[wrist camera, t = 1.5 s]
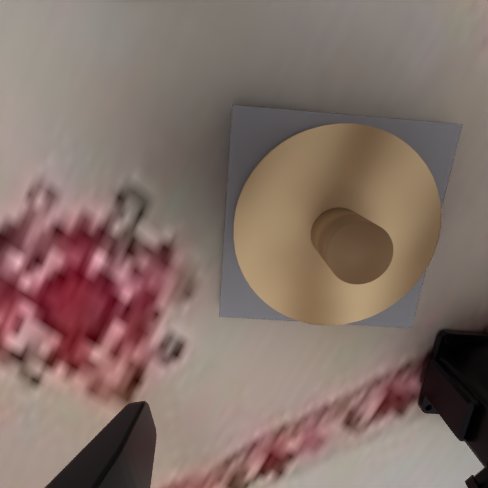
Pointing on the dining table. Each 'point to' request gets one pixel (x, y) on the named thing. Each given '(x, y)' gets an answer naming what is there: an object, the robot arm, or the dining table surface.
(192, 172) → the dining table surface
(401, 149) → the lid
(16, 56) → the dining table surface
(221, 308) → the mat
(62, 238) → the dining table surface
